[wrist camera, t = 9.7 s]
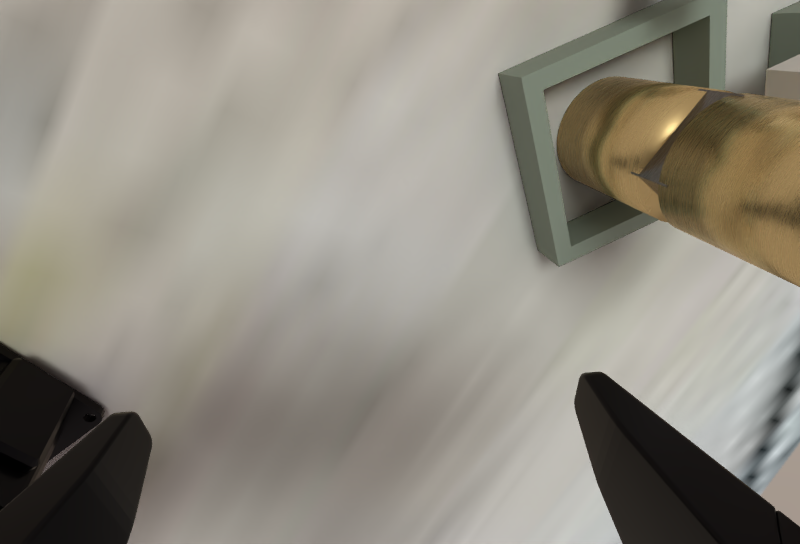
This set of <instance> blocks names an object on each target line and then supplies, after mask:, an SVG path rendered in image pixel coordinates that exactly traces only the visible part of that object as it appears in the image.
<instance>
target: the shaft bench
mask: <svg viewBox="0 0 800 544" xmlns="http://www.w3.org/2000/svg"><path fill="white" fill-rule="evenodd" d="M726 30H727V0H663V1H661V2H659V3H656V4H654V5H652V6H650V7H647V8H645V9H643V10H640V11H638V12H636V13H634V14H631V15H629V16H627V17H625V18H622V19H620V20H618V21H616V22H613V23H611V24H609V25H607V26H604V27H602V28H600V29H598V30H595V31H593V32H591V33H589V34H586V35H584V36H582V37H580V38H577V39H575V40H573V41H571V42H568V43H566V44H564V45H562V46H559V47H557V48H555V49H553V50H550V51H548V52H546V53H544V54H541V55H539V56H537V57H535V58H532V59H530V60H528V61H525V62H523V63H521V64H519V65H516V66H514V67H512V68H510V69H507V70H505V71H503V72H501V73H498V74H499V78H500V83H501V87H502V92H503V96H504V101H505V105H506V110H507V114H508V119H509V123H510V128H511V132H512V136H513V141H514V145H515V150H516V154H517V159H518V163H519V168H520V172H521V177H522V181H523V186H524V190H525V195H526V199H527V204H528V208H529V213H530V217H531V222H532V226H533V231H534V235H535V239H536V244H537V248H538V251H539V252H541V253H542V254H543V255H544V256H546V257H547V258H548V259H550V260H551V261H552V262H553V263H555V264H556V265H557V266H558V267H560V266H562V265H564V264H566V263H568V262H571V261H573V260H575V259H577V258H579V257H581V256H583V255H585V254H587V253H590V252H592V251H594V250H596V249H598V248H600V247H602V246H604V245H606V244H609V243H611V242H613V241H615V240H617V239H619V238H621V237H623V236H625V235H628V234H630V233H632V232H634V231H636V230H638V229H640V228H642V227H644V226H647V225H649V224H651V223H653V222H655V221H657V220H658V219H656V218H654V217H652V216H650V215H648V214H646V213H643V212H641V211H639V210H637V209H635V208H633V207H631V206H629V205H627V204H625V203H623V202H620V201H618V200H615V201H612V202H610V203H608V204H606V205H604V206H602V207H600V208H598V209H595V210H593V211H591V212H589V213H587V214H585V215H583V216H580V217H578V218H576V219H574V220H572V221H570V222H568V223H567V221H566V215H565V209H564V204H563V198H562V193H561V187H560V181H559V176H558V170H557V164H556V159H555V153H554V147H553V142H552V136H551V130H550V125H549V119H548V113H547V108H546V102H545V97H544V91H543V90H544V89H547V88H549V87H551V86H553V85H555V84H558V83H560V82H562V81H564V80H567V79H569V78H571V77H573V76H576V75H578V74H580V73H582V72H584V71H587V70H589V69H591V68H593V67H596V66H598V65H600V64H602V63H605V62H607V61H609V60H611V59H613V58H616V57H618V56H620V55H622V54H625V53H627V52H629V51H631V50H634V49H636V48H638V47H640V46H642V45H645V44H647V43H649V42H651V41H654V40H656V39H658V38H660V37H663V36H665V35H667V34H669V33H671V32H673V56H674V84H680V85H688V86H695V87H703V88H710V89H718V90H725V68H726ZM765 96H771V97H779V98H787V99H794V100H800V1H799V2H797V3H795V4H793V5H790V6H788V7H786V8H784V9H781V10H779V11H777V12H775V13H773V14H772V25H771V39H770V52H769V66H768V69H766V82H765Z"/></svg>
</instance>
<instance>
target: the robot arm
mask: <svg viewBox="0 0 800 544" xmlns="http://www.w3.org/2000/svg"><path fill="white" fill-rule="evenodd" d="M574 404H575V411H576V414H577V418H578V421H579V424H580V428H581V431H582V434H583V438H584V441H585V444H586V448H587V451H588V454H589V458H590V461H591V464H592V468H593V471H594V474H595V477H596V480H597V483H598V486H599V488H600V491H601V493H602V496H603V498H604V501H605V503H606V505H607V508H608V510H609V513H610V515H611V517H612V520H613V522H614V524H615V527H616V529H617V531H618V534H619V536H620V539H621V541H622V543H623V544H800V527H799V526H798V525H797V524H796V523H794V522H793V521H792V520H790V519H789V518H788V517H787V516H785V515H784V514H783V513H781V512H780V511H775V508H774V507H773V506H772V505H771V504H770V503H769V502H767V501H766V500H765V499H763V498H762V497H761V496H760V495H758V494H757V493H756V492H755V491H753V490H752V489H751V488H750V487H748V486H747V485H746V484H744V483H743V482H742V481H741V480H739V479H738V478H737V477H736V476H734V475H733V474H732V473H731V472H729V471H728V470H727V469H725V468H724V467H723V466H722V465H720V464H719V463H718V462H717V461H715V460H714V459H713V458H711V457H710V456H709V455H708V454H706V453H705V452H704V451H703V450H701V449H700V448H699V447H697V446H696V445H695V444H694V443H692V442H691V441H690V440H689V439H687V438H686V437H685V436H683V435H682V434H681V433H680V432H678V431H677V430H676V429H675V428H673V427H672V426H671V425H670V424H668V423H667V422H666V421H664V420H663V419H662V418H661V417H659V416H658V415H657V414H656V413H654V412H653V411H652V410H650V409H649V408H648V407H647V406H645V405H644V404H643V403H642V402H640V401H639V400H638V399H636V398H635V397H634V396H633V395H631V394H630V393H629V392H628V391H626V390H625V389H624V388H622V387H621V386H620V385H619V384H617V383H616V382H615V381H614V380H612V379H611V378H610V377H608V376H607V375H606V374H604V373H602V372H590V373H583V374H582V375H581V376H580V378H579V382H578V387H577V391H576V395H575V401H574ZM104 413H105V411H104V408H103V407H102V406H100V405H99V404H97V403H95V402H94V401H92V400H91V399H89V398H87V397H86V396H84V395H82V394H81V393H79V392H77V391H76V390H74V389H72V388H71V387H69V386H68V385H66V384H64V383H63V382H61V381H59V380H58V379H56V378H54V377H53V376H51V375H50V374H48V373H46V372H45V371H43V370H41V369H40V368H38V367H36V366H35V365H33V364H32V363H30V362H28V361H27V360H25V359H23V358H22V357H20V356H18V355H17V354H15V353H14V352H12V351H10V350H9V349H7V348H5V347H4V346H2V345H0V544H127V542H128V539H129V536H130V533H131V530H132V527H133V524H134V520H135V516H136V512H137V508H138V504H139V500H140V495H141V491H142V487H143V483H144V478H145V474H146V470H147V465H148V461H149V457H150V452H151V448H152V439H151V436H150V434H149V432H148V430H147V428H146V427H145V425H144V423H143V422H142V420H141V418H140V417H139V415H138V414H137V413H135V412H132V411H131V412H120V413H114V414H112V415H110V416H109V417H108V418H107V419H106V420H104V421H103V422H102V423H101V424H100V425H99V426H97V427H96V428H95V429H94V430H93V431H92V432H91V433H89V434H88V435H87V436H86V437H85V438H84V439H82V440H81V441H80V442H79V443H78V444H77V445H76V446H74V447H73V448H72V449H71V450H70V451H69V452H67V453H66V454H65V455H64V456H63V457H62V458H61V459H59V460H58V461H57V462H56V463H55V464H54V465H52V466H51V467H50V468H49V469H48V470H47V471H46V472H44V473H43V474H42V472H43V470H44V468H45V466H46V464H47V462H48V461H49V460H50V459H52V458H53V457H54V456H56V455H57V454H59V453H60V452H61V451H63V450H64V449H65V448H67V447H68V446H69V445H71V444H72V443H73V442H75V441H76V440H77V439H79V438H80V437H82V436H83V435H84V434H86V433H87V432H88V431H90V430H91V429H92V428H94V427H95V426H96V425H98V424H99V423H100V422H101V421H102V418H103V416H104ZM88 414H93V415H95V416H90V415H88ZM41 474H42V475H41Z"/></svg>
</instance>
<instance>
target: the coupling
mask: <svg viewBox="0 0 800 544" xmlns="http://www.w3.org/2000/svg"><path fill="white" fill-rule="evenodd" d="M557 152H558V158H559V161H560V163H561V165H562V168H563V169H564V170H565V172H566V173H567V174H568V175H569V176H570V177H571V178H573V179H574V180H576V181H578V182H581V183H583V184H585V185H587V186H589V187H591V188H593V189H595V190H597V191H599V192H602V193H604V194H606V195H608V196H610V197H612V198H614V199H616V200H618V201H620V202H623V203H625V204H627V205H629V206H631V207H633V208H635V209H637V210H639V211H641V212H643V213H646V214H648V215H650V216H652V217H654V218H656V219H658V220H660V221H664V222H669V223H670V224H671V225H672V226H673V227H675V228H677V229H679V230H681V231H683V232H685V233H688V234H690V235H692V236H694V237H696V238H698V239H700V240H702V241H704V242H706V243H709V244H711V245H713V246H715V247H717V248H719V249H721V250H723V251H725V252H727V253H729V254H732V255H734V256H736V257H738V258H740V259H742V260H744V261H746V262H748V263H750V264H753V265H755V266H757V267H759V268H761V269H763V270H765V271H767V272H769V273H771V274H774V275H776V276H778V277H780V278H782V279H784V280H786V281H788V282H790V283H792V284H794V285H797V286H799V287H800V100H794V99H787V98H779V97H771V96H764V95H756V94H746V93H741V94H735V93H732V92H730V91H725V90H718V89H710V88H703V87H695V86H688V85H680V84H672V83H665V82H657V81H650V80H642V79H634V78H627V77H615V76H614V77H607V78H604V79H601V80H598V81H596V82H594V83H593V84H591V85H589V86H588V87H587V88H585V89H584V90H583V91H582V92H581V93H580V94H579V95H578V96H577V97H576V98H575V99H574V100H573V101H572V103H571V104H570V106H569V107H568V109H567V111H566V113H565V114H564V117H563V119H562V121H561V124H560V128H559V132H558V137H557Z"/></svg>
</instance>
